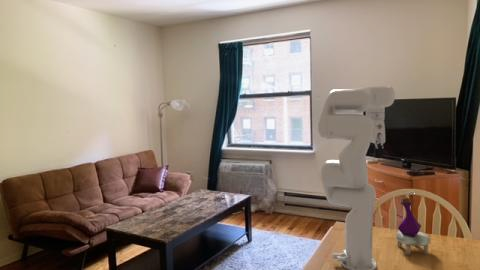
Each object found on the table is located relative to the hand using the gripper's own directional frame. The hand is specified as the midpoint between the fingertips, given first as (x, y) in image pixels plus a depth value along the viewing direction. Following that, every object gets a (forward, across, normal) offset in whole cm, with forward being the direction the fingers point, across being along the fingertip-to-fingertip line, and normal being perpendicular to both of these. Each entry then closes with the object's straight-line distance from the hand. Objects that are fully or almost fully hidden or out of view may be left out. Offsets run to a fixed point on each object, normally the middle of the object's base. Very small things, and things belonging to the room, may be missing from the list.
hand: (374, 155), depth 149 cm
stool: (+36, -15, -10) cm, 41 cm away
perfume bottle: (+31, -14, -9) cm, 35 cm away
